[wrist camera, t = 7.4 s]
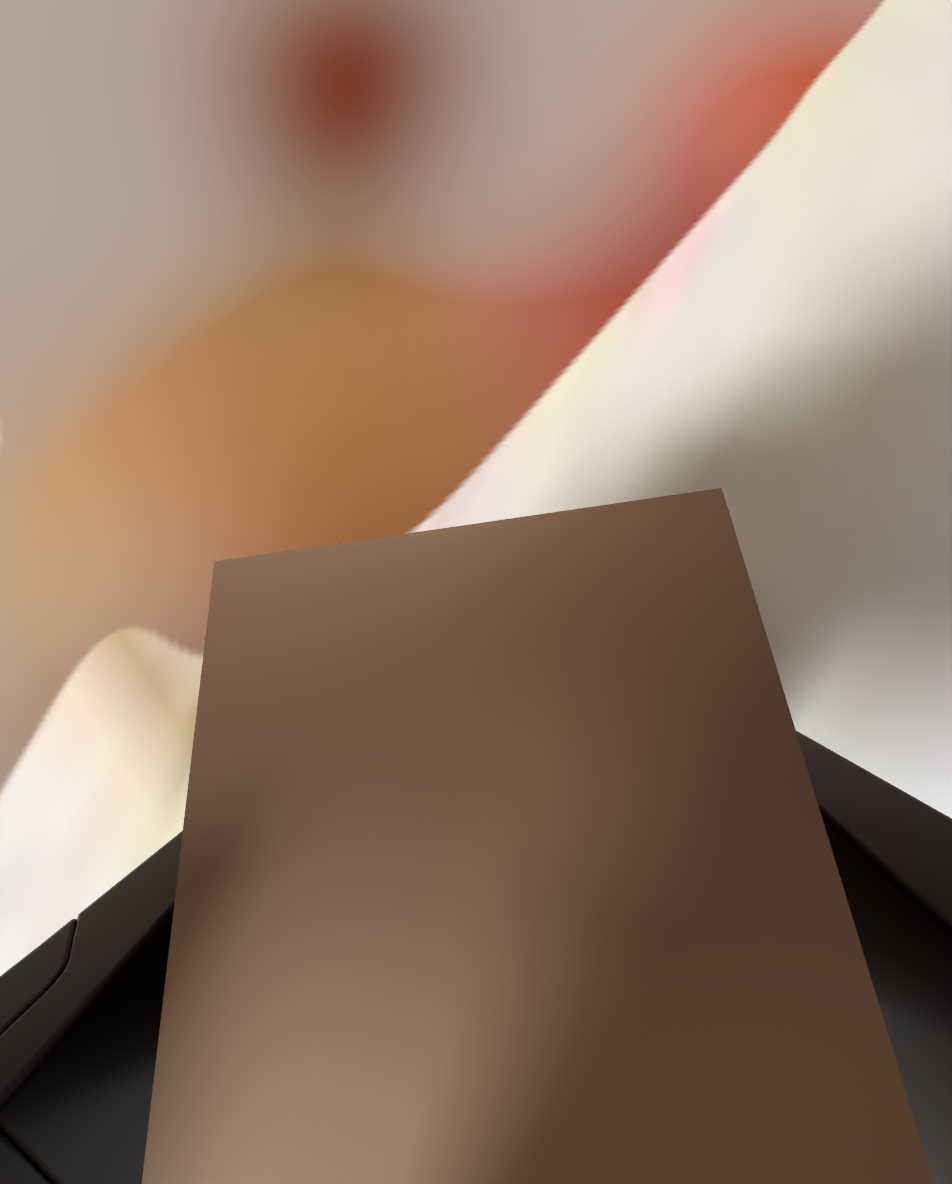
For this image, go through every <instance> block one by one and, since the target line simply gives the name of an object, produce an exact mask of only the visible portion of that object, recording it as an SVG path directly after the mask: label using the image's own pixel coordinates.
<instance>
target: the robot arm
mask: <svg viewBox="0 0 952 1184" xmlns="http://www.w3.org/2000/svg"><path fill="white" fill-rule="evenodd" d="M795 731H796V730H795ZM796 734H797V737H798V741H799V744H800V747H801V750H802V754H803V757H804V760H805V763H806V767H807V770H808V773H809V777H810V780H811V783H812V786H813V790H814V793H815V796H816V800H817V803H818V806H819V809H820V813H821V816H822V819H823V822H824V826H825V829H826V832H827V836H828V839H829V842H830V845H831V849H832V852H833V855H834V858H835V862H836V865H837V868H838V872H839V875H840V878H841V881H842V885H843V888H844V891H845V895H846V898H847V901H848V904H849V908H850V911H851V914H852V917H853V921H854V924H855V927H856V931H857V934H858V937H859V940H860V944H861V947H862V950H863V953H864V957H865V960H866V963H867V967H868V970H869V973H870V976H871V980H872V983H873V986H874V989H875V993H876V996H877V999H878V1003H879V1006H880V1009H881V1012H882V1016H883V1019H884V1022H885V1026H886V1029H887V1032H888V1035H889V1039H890V1042H891V1045H892V1048H893V1052H894V1055H895V1058H896V1062H897V1065H898V1068H899V1071H900V1075H901V1078H902V1081H903V1084H904V1088H905V1091H906V1094H907V1098H908V1101H909V1104H910V1107H911V1111H912V1114H913V1117H914V1121H915V1124H916V1127H917V1130H918V1134H919V1137H920V1140H921V1143H922V1147H923V1150H924V1153H925V1157H926V1160H927V1163H928V1166H929V1170H930V1173H931V1176H932V1179H933V1183H934V1184H952V819H951V818H950V817H948V816H946V815H944V814H943V813H941V812H939V811H937V810H936V809H934V808H932V807H930V806H928V805H927V804H925V803H923V802H921V801H920V800H918V799H916V798H914V797H913V796H911V795H909V794H907V793H905V792H904V791H902V790H900V789H898V788H897V787H895V786H893V785H891V784H890V783H888V782H886V781H884V780H883V779H881V778H879V777H877V776H875V775H874V774H872V773H870V772H868V771H867V770H865V769H863V768H861V767H860V766H858V765H856V764H854V763H852V762H851V761H849V760H847V759H845V758H844V757H842V756H840V755H838V754H837V753H835V752H833V751H831V750H830V749H828V748H826V747H824V746H822V745H821V744H819V743H817V742H815V741H814V740H812V739H810V738H808V737H807V736H805V735H803V734H801V733H799V732H798V731H796ZM182 835H183V831H182V832H180V833H179V834H178V835H177V836H176V837H174V838H173V839H172V840H171V841H169V842H168V843H167V844H166V845H164V846H163V847H162V848H161V849H159V850H158V851H157V852H156V853H154V854H153V855H152V856H151V857H149V858H148V859H147V860H146V861H144V862H143V863H142V864H141V865H139V866H138V867H137V868H136V869H134V870H133V871H132V872H131V873H129V874H128V875H127V876H126V877H125V878H123V879H122V880H121V881H120V882H118V883H117V884H116V885H115V886H113V887H112V888H111V889H110V890H108V891H107V892H106V893H105V894H103V895H102V896H101V897H100V898H98V899H97V900H96V901H95V902H93V903H92V904H91V905H90V906H88V907H87V908H86V909H85V910H83V911H82V912H81V913H80V914H79V915H78V918H77V919H72V920H71V921H70V922H68V923H67V924H66V925H65V926H63V927H62V928H61V929H60V930H58V931H57V932H56V933H55V934H54V935H52V936H51V937H50V938H49V939H47V940H46V941H45V942H44V943H42V944H41V945H40V946H39V947H37V948H36V949H35V950H33V951H32V952H31V953H30V954H28V955H27V956H26V957H24V958H23V959H22V960H21V961H19V962H18V963H17V964H16V965H14V966H13V967H12V968H10V969H9V970H8V971H7V972H5V973H4V974H3V975H1V976H0V1184H142V1176H143V1167H144V1159H145V1150H146V1142H147V1133H148V1125H149V1116H150V1108H151V1099H152V1090H153V1082H154V1073H155V1065H156V1056H157V1048H158V1039H159V1031H160V1022H161V1014H162V1005H163V997H164V988H165V980H166V971H167V963H168V954H169V946H170V937H171V928H172V920H173V911H174V903H175V894H176V886H177V877H178V869H179V860H180V852H181V843H182Z"/></svg>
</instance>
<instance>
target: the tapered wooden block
mask: <svg viewBox="0 0 952 1184" xmlns="http://www.w3.org/2000/svg"><path fill="white" fill-rule="evenodd" d="M142 1184H934V1183H933V1179H932V1176H931V1173H930V1170H929V1166H928V1163H927V1160H926V1157H925V1153H924V1150H923V1147H922V1143H921V1140H920V1137H919V1134H918V1130H917V1127H916V1124H915V1121H914V1117H913V1114H912V1111H911V1107H910V1104H909V1101H908V1098H907V1094H906V1091H905V1088H904V1084H903V1081H902V1078H901V1075H900V1071H899V1068H898V1065H897V1062H896V1058H895V1055H894V1052H893V1048H892V1045H891V1042H890V1039H889V1035H888V1032H887V1029H886V1026H885V1022H884V1019H883V1016H882V1012H881V1009H880V1006H879V1003H878V999H877V996H876V993H875V989H874V986H873V983H872V980H871V976H870V973H869V970H868V967H867V963H866V960H865V957H864V953H863V950H862V947H861V944H860V940H859V937H858V934H857V931H856V927H855V924H854V921H853V917H852V914H851V911H850V908H849V904H848V901H847V898H846V895H845V891H844V888H843V885H842V881H841V878H840V875H839V872H838V868H837V865H836V862H835V858H834V855H833V852H832V849H831V845H830V842H829V839H828V836H827V832H826V829H825V826H824V822H823V819H822V816H821V813H820V809H819V806H818V803H817V800H816V796H815V793H814V790H813V786H812V783H811V780H810V777H809V773H808V770H807V767H806V763H805V760H804V757H803V754H802V750H801V747H800V744H799V741H798V737H797V734H796V731H795V727H794V724H793V721H792V718H791V714H790V711H789V708H788V705H787V701H786V698H785V695H784V691H783V688H782V685H781V682H780V678H779V675H778V672H777V668H776V665H775V662H774V659H773V655H772V652H771V649H770V646H769V642H768V639H767V636H766V632H765V629H764V626H763V623H762V619H761V616H760V613H759V610H758V606H757V603H756V600H755V596H754V593H753V590H752V587H751V583H750V580H749V577H748V574H747V570H746V567H745V564H744V560H743V557H742V554H741V551H740V547H739V544H738V541H737V537H736V534H735V531H734V528H733V524H732V521H731V518H730V515H729V511H728V508H727V505H726V501H725V498H724V495H723V492H722V488H720V489H713V490H706V491H699V492H693V493H686V494H679V495H672V496H665V497H658V498H651V499H644V500H637V501H630V502H623V503H616V504H609V505H603V506H596V507H589V508H582V509H575V510H568V511H561V512H554V513H547V514H540V515H533V516H526V517H519V518H513V519H506V520H499V521H492V522H485V523H478V524H471V525H464V526H457V527H450V528H443V529H436V530H429V531H423V532H416V533H409V534H402V535H396V536H388V537H381V538H374V539H367V540H360V541H354V542H347V543H339V544H333V545H326V546H319V547H312V548H305V549H299V550H292V551H284V552H277V553H271V554H264V555H256V556H249V557H243V558H236V559H229V560H222V561H215V562H214V570H213V579H212V588H211V597H210V604H209V613H208V622H207V630H206V639H205V647H204V656H203V664H202V673H201V681H200V690H199V698H198V707H197V715H196V724H195V732H194V741H193V749H192V758H191V766H190V775H189V784H188V792H187V801H186V809H185V818H184V826H183V835H182V843H181V852H180V860H179V869H178V877H177V886H176V894H175V903H174V911H173V920H172V928H171V937H170V946H169V954H168V963H167V971H166V980H165V988H164V997H163V1005H162V1014H161V1022H160V1031H159V1039H158V1048H157V1056H156V1065H155V1073H154V1082H153V1090H152V1099H151V1108H150V1116H149V1125H148V1133H147V1142H146V1150H145V1159H144V1167H143V1176H142Z"/></svg>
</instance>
